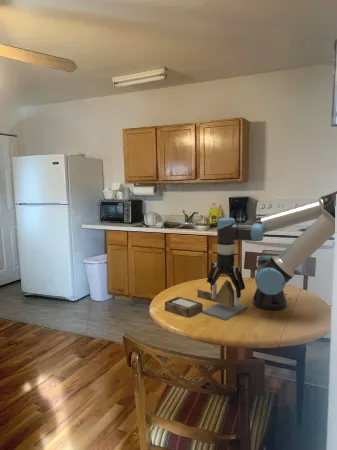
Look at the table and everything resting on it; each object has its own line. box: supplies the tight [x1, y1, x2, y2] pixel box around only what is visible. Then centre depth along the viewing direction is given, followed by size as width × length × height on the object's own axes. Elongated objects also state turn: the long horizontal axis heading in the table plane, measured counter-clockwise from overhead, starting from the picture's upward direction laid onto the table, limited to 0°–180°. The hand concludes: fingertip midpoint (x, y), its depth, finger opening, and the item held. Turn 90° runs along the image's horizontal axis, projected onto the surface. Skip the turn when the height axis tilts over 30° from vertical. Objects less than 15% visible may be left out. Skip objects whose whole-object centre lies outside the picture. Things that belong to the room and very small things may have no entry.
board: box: [201, 302, 248, 321], centre depth 151 cm, size 12×18×1 cm, turn 138°
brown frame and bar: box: [164, 289, 218, 318], centre depth 157 cm, size 14×25×4 cm, turn 138°
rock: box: [215, 280, 236, 307], centre depth 150 cm, size 11×9×10 cm
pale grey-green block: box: [172, 299, 197, 309], centre depth 151 cm, size 10×6×4 cm, turn 46°
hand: (225, 301), depth 151 cm, fingers closed on rock, 11 cm apart
